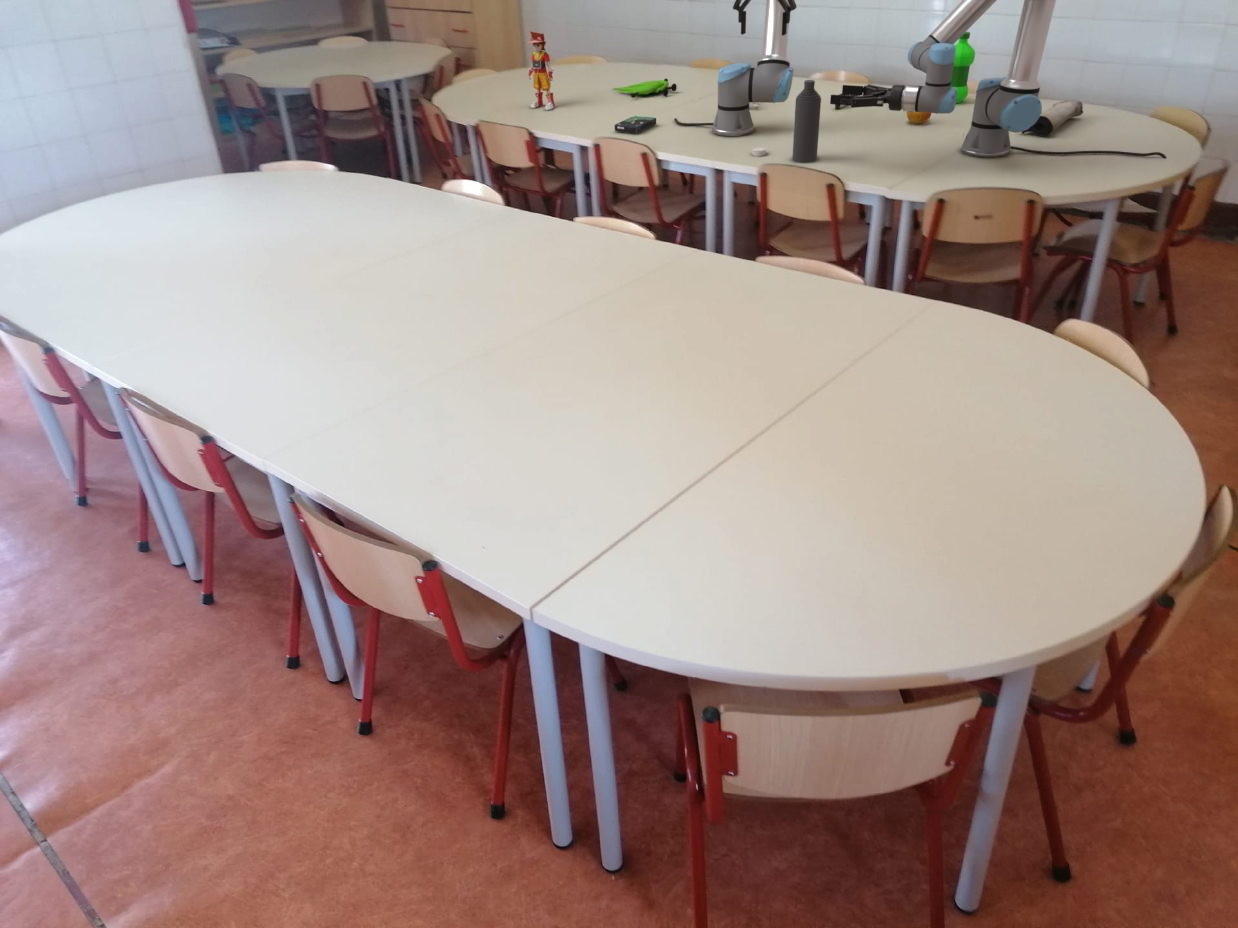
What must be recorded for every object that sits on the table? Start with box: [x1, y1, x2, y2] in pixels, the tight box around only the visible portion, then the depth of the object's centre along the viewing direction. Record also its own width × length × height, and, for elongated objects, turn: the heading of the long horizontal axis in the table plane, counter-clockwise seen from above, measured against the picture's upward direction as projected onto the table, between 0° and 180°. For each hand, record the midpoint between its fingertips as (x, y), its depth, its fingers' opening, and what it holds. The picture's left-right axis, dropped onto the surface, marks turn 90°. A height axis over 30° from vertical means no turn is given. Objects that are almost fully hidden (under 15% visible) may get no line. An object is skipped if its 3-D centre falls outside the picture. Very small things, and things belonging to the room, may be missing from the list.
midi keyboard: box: [834, 93, 861, 110], centre depth 359 cm, size 18×1×5 cm, turn 138°
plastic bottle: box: [951, 31, 976, 104], centre depth 348 cm, size 10×10×25 cm
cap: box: [751, 146, 767, 157], centre depth 310 cm, size 4×5×2 cm
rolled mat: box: [1021, 99, 1084, 138], centre depth 318 cm, size 30×9×10 cm
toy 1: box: [527, 31, 556, 111], centre depth 374 cm, size 12×9×30 cm
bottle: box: [792, 79, 822, 163], centre depth 297 cm, size 8×8×25 cm
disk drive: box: [614, 115, 657, 135], centre depth 346 cm, size 10×3×15 cm
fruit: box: [906, 111, 932, 124], centre depth 331 cm, size 8×8×8 cm
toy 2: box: [612, 78, 677, 99], centre depth 396 cm, size 28×5×30 cm
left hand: (763, 34), depth 289 cm, fingers open, 13 cm apart
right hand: (836, 94), depth 288 cm, fingers open, 13 cm apart
